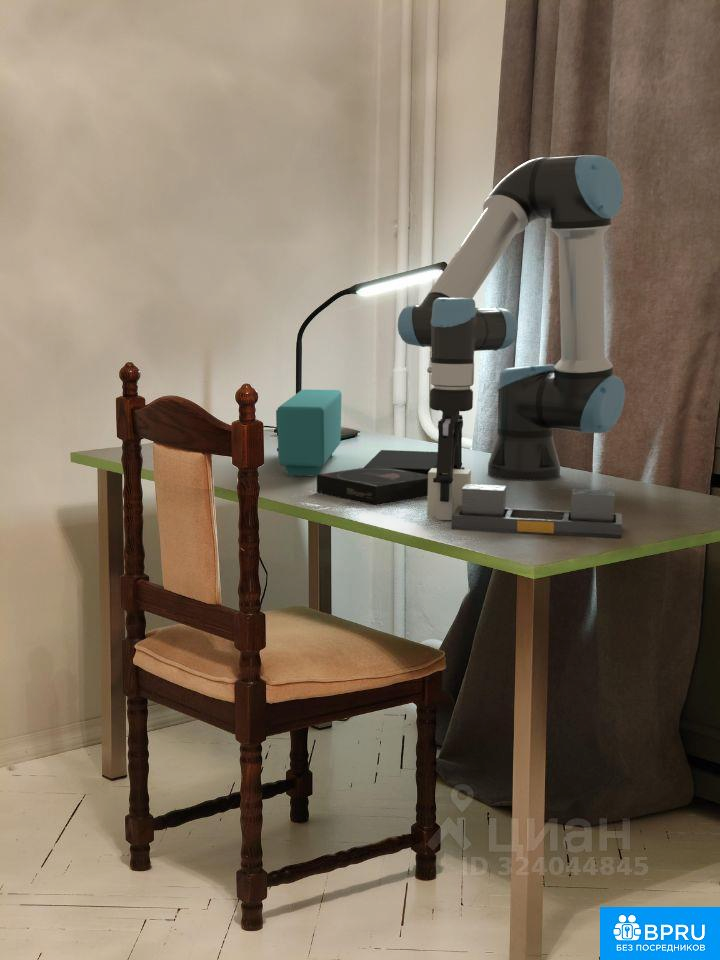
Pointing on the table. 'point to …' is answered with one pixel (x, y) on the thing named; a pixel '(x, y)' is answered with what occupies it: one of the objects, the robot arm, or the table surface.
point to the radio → (308, 430)
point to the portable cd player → (374, 485)
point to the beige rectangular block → (459, 481)
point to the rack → (538, 514)
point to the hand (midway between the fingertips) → (448, 513)
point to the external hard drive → (406, 460)
